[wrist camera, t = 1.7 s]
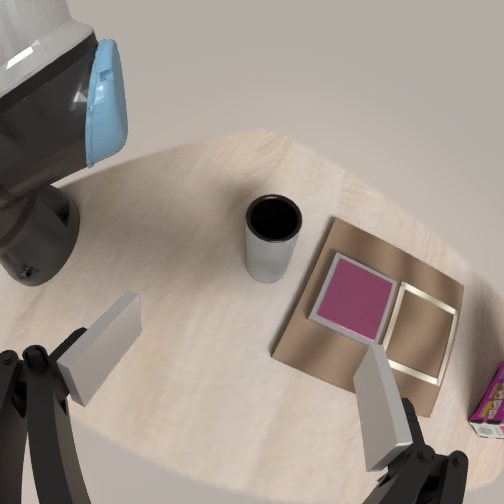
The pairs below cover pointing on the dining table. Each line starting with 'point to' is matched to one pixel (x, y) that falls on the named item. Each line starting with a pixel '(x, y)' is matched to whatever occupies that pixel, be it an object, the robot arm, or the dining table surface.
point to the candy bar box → (491, 409)
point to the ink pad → (353, 301)
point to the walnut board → (395, 328)
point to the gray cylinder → (271, 236)
